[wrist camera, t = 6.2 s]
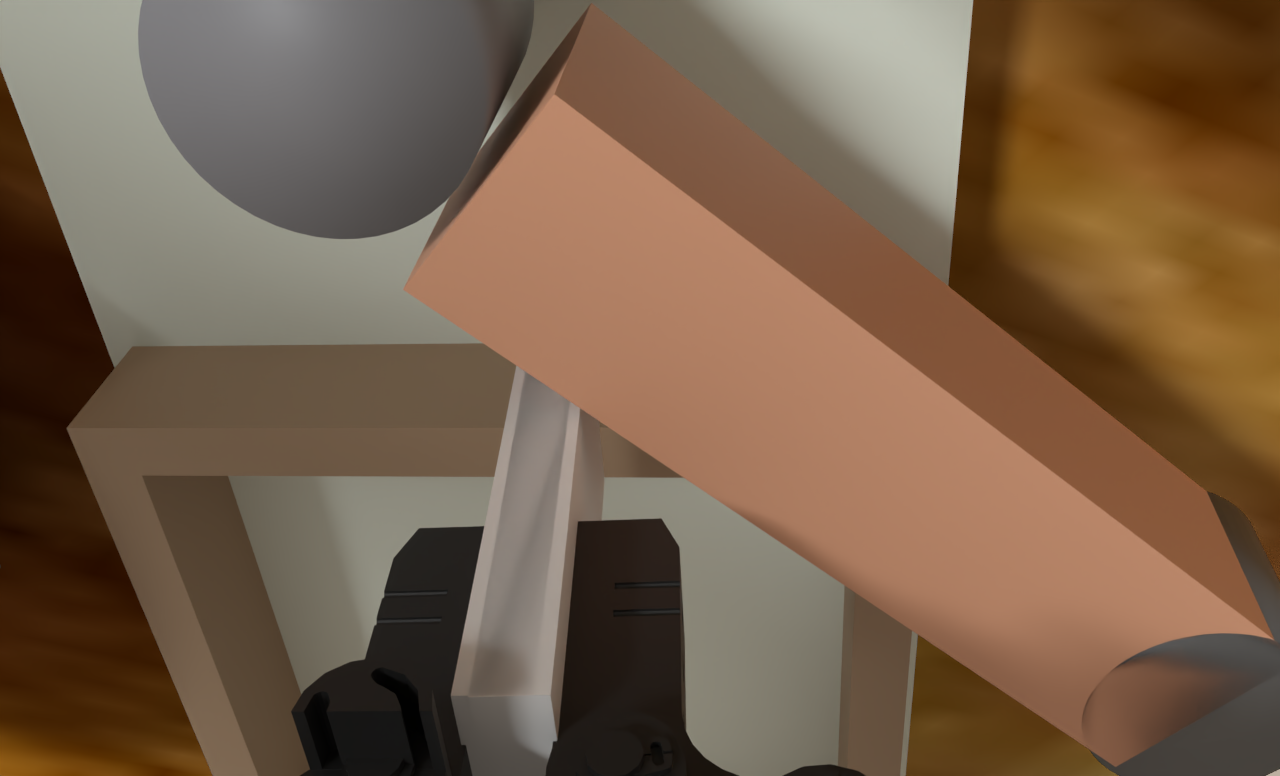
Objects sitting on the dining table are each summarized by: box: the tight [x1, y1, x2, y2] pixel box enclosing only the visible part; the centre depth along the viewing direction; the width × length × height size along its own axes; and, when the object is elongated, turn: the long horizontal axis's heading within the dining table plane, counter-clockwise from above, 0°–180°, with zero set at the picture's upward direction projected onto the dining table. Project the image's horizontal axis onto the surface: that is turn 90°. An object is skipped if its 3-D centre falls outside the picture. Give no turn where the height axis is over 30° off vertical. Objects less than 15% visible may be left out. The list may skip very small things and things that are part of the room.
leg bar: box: [138, 0, 1280, 776], centre depth 16 cm, size 17×4×3 cm, turn 52°
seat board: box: [0, 0, 973, 776], centre depth 22 cm, size 15×24×4 cm, turn 4°
